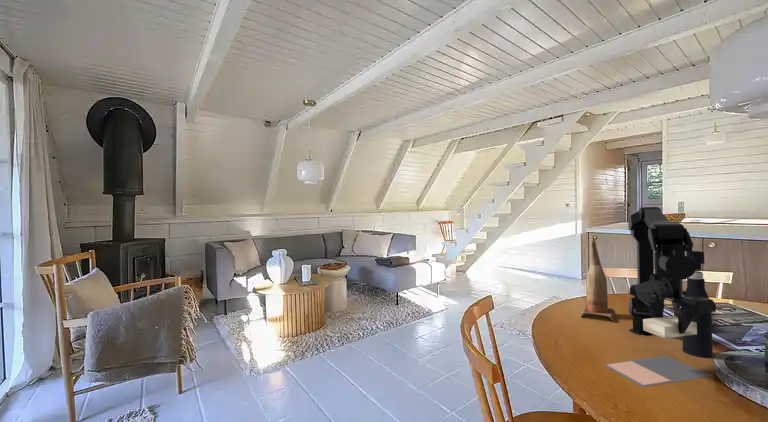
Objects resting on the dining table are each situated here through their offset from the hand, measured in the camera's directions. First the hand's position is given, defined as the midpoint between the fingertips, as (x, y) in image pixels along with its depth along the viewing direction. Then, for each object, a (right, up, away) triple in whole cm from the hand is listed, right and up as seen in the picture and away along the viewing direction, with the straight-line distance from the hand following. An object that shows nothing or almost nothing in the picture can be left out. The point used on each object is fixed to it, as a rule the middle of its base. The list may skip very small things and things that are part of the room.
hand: (669, 329), depth 92 cm
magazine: (+34, -9, +37) cm, 51 cm away
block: (0, -1, 0) cm, 1 cm away
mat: (-4, -11, -1) cm, 12 cm away
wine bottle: (+15, -10, +8) cm, 20 cm away
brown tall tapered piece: (+8, -10, +43) cm, 45 cm away
